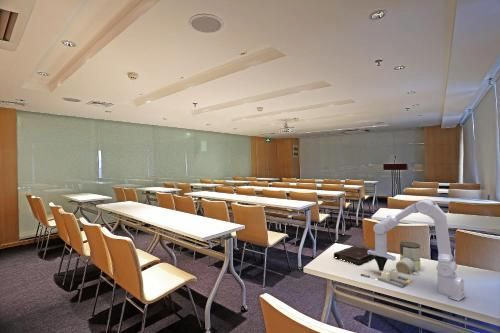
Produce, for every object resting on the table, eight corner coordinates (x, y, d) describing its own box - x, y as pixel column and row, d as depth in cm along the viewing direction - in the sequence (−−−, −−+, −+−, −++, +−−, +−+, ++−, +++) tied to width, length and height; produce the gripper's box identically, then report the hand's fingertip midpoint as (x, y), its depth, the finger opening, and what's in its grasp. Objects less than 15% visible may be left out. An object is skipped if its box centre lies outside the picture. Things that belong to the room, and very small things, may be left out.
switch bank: (412, 284, 130) (412, 280, 130) (402, 290, 124) (401, 285, 124) (388, 276, 140) (388, 272, 140) (377, 281, 134) (377, 277, 134)
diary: (333, 259, 170) (333, 251, 170) (353, 251, 186) (353, 244, 186) (360, 267, 156) (360, 258, 156) (379, 258, 171) (379, 250, 172)
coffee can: (396, 265, 156) (395, 242, 156) (409, 264, 159) (409, 241, 159) (410, 272, 146) (410, 247, 146) (425, 270, 149) (424, 245, 149)
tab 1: (390, 280, 132) (390, 271, 132) (387, 282, 131) (387, 273, 131) (384, 278, 135) (384, 269, 135) (381, 280, 133) (381, 271, 133)
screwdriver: (382, 282, 133) (382, 278, 133) (381, 283, 132) (381, 279, 132) (361, 276, 140) (361, 273, 140) (360, 277, 139) (360, 274, 139)
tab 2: (398, 278, 135) (397, 269, 135) (395, 279, 133) (395, 270, 133) (392, 276, 137) (392, 267, 137) (389, 278, 136) (389, 269, 136)
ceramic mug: (395, 272, 145) (395, 259, 145) (400, 269, 150) (400, 256, 151) (416, 279, 137) (416, 264, 137) (421, 275, 142) (421, 261, 142)
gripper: (398, 247, 137) (398, 272, 137) (372, 241, 149) (372, 264, 149) (391, 249, 133) (392, 276, 133) (365, 243, 145) (365, 267, 145)
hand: (381, 270), depth 141 cm, fingers closed
